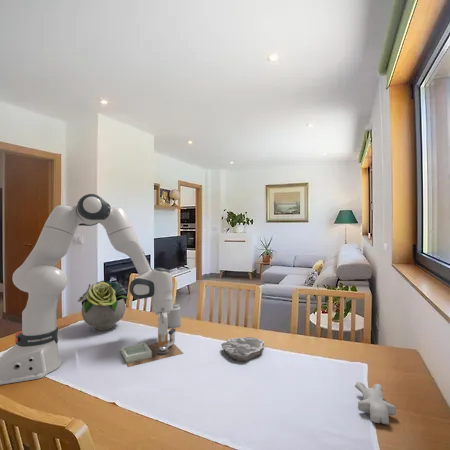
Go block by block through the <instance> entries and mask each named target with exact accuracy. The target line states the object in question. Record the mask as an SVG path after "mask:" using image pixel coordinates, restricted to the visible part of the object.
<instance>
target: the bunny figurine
mask: <svg viewBox="0 0 450 450" xmlns="http://www.w3.org/2000/svg"><path fill="white" fill-rule="evenodd" d="M354 387H355V388H356V389H357V390H358V391H359V392H361V394H362V399H361V400H358V401H357V409H358V411H360V412H363V413H366V414H369V420H370V421H371V422H372V423H376V424H380V423H381V424H382V425H390V417H389V416H396V410H397V408H396V406H395V405H394V404H392V403H389V402H387V401H386V400H384V394H383V389H384V388H383V387H382V385H381V383H380V384H379V383H374V384H373V386H372V387H366V385H365V384H364V383H363V382H361V381H356V383H355V385H354Z"/></svg>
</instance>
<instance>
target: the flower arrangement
mask: <svg viewBox="0 0 450 450" xmlns="http://www.w3.org/2000/svg"><path fill="white" fill-rule="evenodd" d="M127 294H128V292H127V291H126V288H124V287H123V286H122V285H121V284H119V283H118V281H114V282H113V281H109V280H108V281H107V280H99V281H97V282H95V283H93V284H92V285H91V283H89V284H88V286H87V289H86V291H85V292H84V293H82V295H81V296H80V297H79V299H78V300H77V302H78V303H80V302H81V317H82V319H83V321H84V322H85V323H86V324H88V325H89V326H91V327H94V329H96V331H107V330H111V329H112V328H113V327H114V325H115V324H117V323H119V321H121V320H122V319H123V317H124V315H125V312H126V301H125V299H126V300H127V301H130V300H129V298H128V296H126V295H127Z"/></svg>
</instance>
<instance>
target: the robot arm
mask: <svg viewBox="0 0 450 450" xmlns="http://www.w3.org/2000/svg"><path fill="white" fill-rule="evenodd" d="M98 224H100V225H101V226H102V227H103V229H105V233H106V235H107V237H108V240H109V243H110V244H111V246H112V247H113V248H114V249H115V250H116V251H117V252H120V253H122V254H125V255H127V256H128V257H129V258H130V259H131V260H130V261H132V263H133V265H134V267H135V269H136V271H137V274H138V276H137V277H135V278H134V279H132V280H131V282H130V284H129V287H128V288H129V290H128V291H129V293H130V295H131V296H132V297H133V298H134V299H137V300H143V299H149V298H151V308H152V309H151V310H152V312H155V315H157V317H158V318H157V323H158V324H157V327H158V328H157V334H158V333H159V335H161V342H164V341H165V335H166V334H167V332H168V331H169V328H168V325H167V314H169V313H170V311H171V310H172V309H173V304H174V298H173V297H174V296H173V288H174V287H173V286H174V284H173V275H172V272H171V270H169V269H168V268H166V267H165V268H164V267H155V268H152V266H151V264H150V262H149V260H148V258H147V256H146V254H145V251H144V250H143V248H142V246H141V244H140V242H139V240H138V237H137V235H136V232H135V229H134V227H133V225H132V222H131V219H130V218H129V216H128V215H127V213H126V211H125V210H124V209H123V208H121V207H120V206H112V207H111V205H110V204H109V203H108V202H107V201H105V200H104V199H103V198H102V197H101V196H99V195H98V194H95V193H88V194H85V195H83V196H82V197H80V199H78V201H77V204H76V205H75V206H69V205H65V204H60V205H57V206H55V207H54V208H53V210H52V211H51V212H50V214H49V216H48V218H47V219H46V221H45V223H44V225H43V228H42V229H41V231H40V234H39V237H38V239H37V241H36V243H35V245H34V247H33V249H32V250H31V251H30V253H29V255H27V257H26V258H25V260H24V262H23V263H22V264H21V265H20V266H19V267H17V268H16V270H15V271H14V272H13V273H12V283H13V285H14V286H15V288H17V289H19V290H20V291H22V292H24V293H28V298H27V302H26V305H25V308H24V309H23V310H22V312H21V316H22V317H21V324H22V325H21V326H22V327H21V328H22V329H21V331H17V332H16V333H15V335H14V336H15V344H14V345H13V346H12V347H10V349H8V350H7V351H6V352H4V353H3V354H2V355H1V356H0V385H8V384H12V383H21V382H26V381H31V380H38V379H41V378H44V377H45V376H46V375H47V374H50V373H51V372H53V371H55V370H57V369H58V368H60V367H61V366H62V364H63V361H62V359H61V354H60V351H59V345H58V344H59V335H60V334H59V327H58V325H57V324H58V323H57V321H58V319H57V312H58V311H57V309H58V303H59V299H60V296H61V293H62V292H63V291H64V290H65V288H66V286H67V284H68V277H67V275H66V273H65V272H64V271H63V270H62V269H59V268H58V267H57V264H58V263H59V262H60V260H61V259H62V258H64V257H65V256H66V255H67V253H68V251H69V248H70V246H71V243H72V241H73V238H74V236H75V232H76V230H77V228H78V227H79V226H85V227H86V226H87V227H92V226H95V225H98Z"/></svg>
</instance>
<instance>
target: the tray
mask: <svg viewBox="0 0 450 450" xmlns="http://www.w3.org/2000/svg"><path fill="white" fill-rule="evenodd" d="M147 345H148V344H147V343H146V342H141V343H137V344H131V345H128V346H122V347H121V351H122V355H121V357H122V356H123V357H122V359H123V358H124V359H123V360H125V361H124V363H125V362H126V363H125V365H126V364H127V363H131V362H135V361H139V360H143V359H147V358H152V351H151V350H150V348H149V347H148V346H147Z"/></svg>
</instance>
